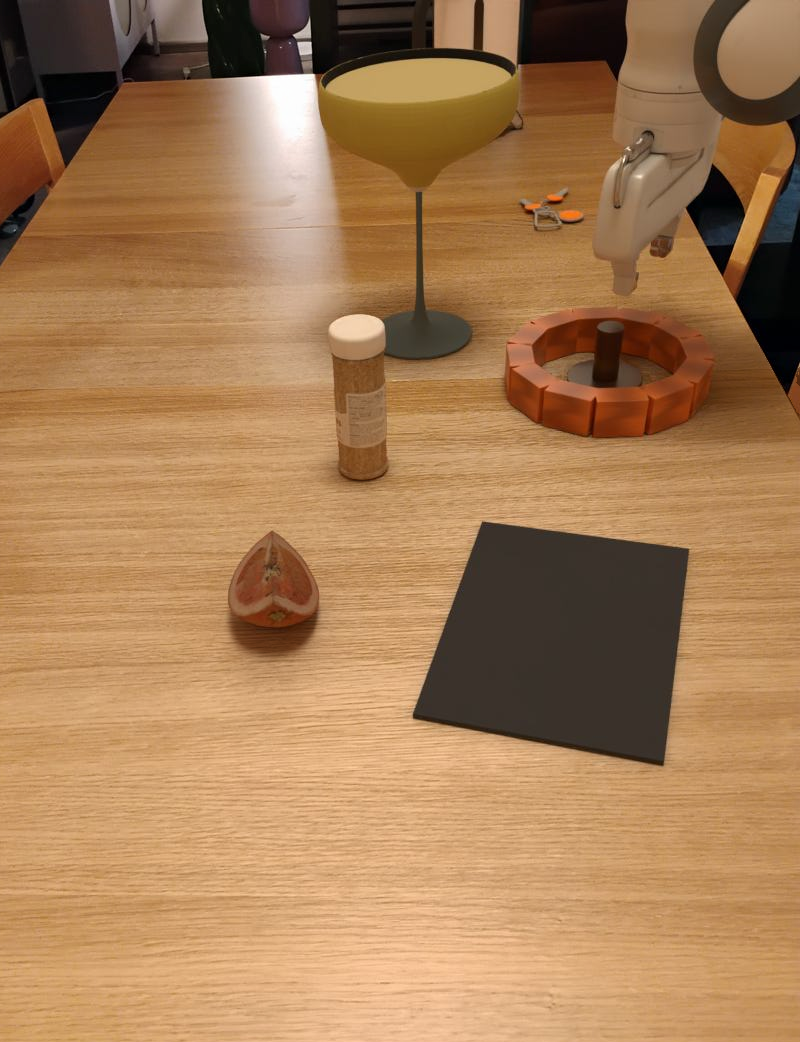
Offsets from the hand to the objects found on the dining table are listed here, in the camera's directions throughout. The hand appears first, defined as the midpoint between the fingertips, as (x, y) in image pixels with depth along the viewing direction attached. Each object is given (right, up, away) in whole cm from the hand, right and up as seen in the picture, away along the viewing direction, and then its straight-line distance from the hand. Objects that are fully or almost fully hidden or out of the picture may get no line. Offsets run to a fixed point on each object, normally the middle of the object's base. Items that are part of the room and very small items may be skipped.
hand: (642, 273), depth 97 cm
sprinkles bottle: (-27, -20, -7) cm, 34 cm away
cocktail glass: (-20, -3, +11) cm, 23 cm away
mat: (-13, -34, -24) cm, 44 cm away
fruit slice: (-34, -33, -21) cm, 52 cm away
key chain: (-1, +20, +33) cm, 39 cm away
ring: (-4, -11, +1) cm, 11 cm away
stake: (-4, -11, +1) cm, 11 cm away
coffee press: (-8, +42, +59) cm, 73 cm away
